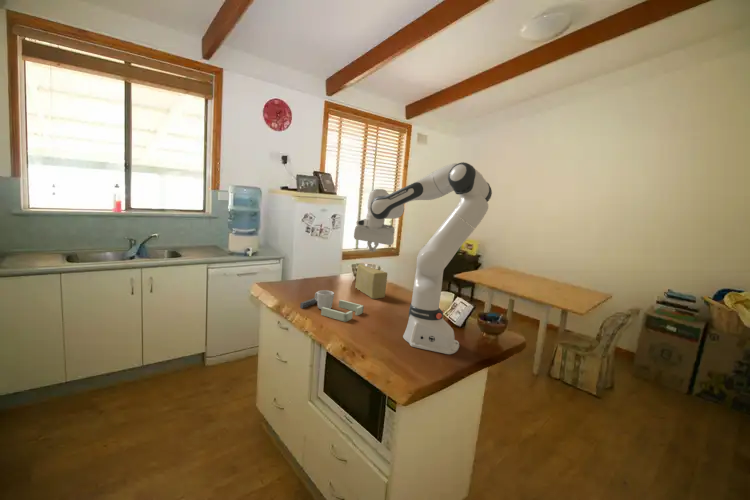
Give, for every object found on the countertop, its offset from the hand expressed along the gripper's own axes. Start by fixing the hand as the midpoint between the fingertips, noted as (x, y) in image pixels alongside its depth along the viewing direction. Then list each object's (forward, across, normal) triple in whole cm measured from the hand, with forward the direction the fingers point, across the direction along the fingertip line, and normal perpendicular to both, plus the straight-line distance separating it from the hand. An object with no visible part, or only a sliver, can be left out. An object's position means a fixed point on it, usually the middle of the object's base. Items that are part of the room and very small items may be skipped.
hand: (372, 251), depth 170 cm
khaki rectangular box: (+29, +12, -24) cm, 40 cm away
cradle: (+29, +5, +16) cm, 33 cm away
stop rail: (+29, +23, +15) cm, 40 cm away
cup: (+29, +16, +15) cm, 36 cm away
